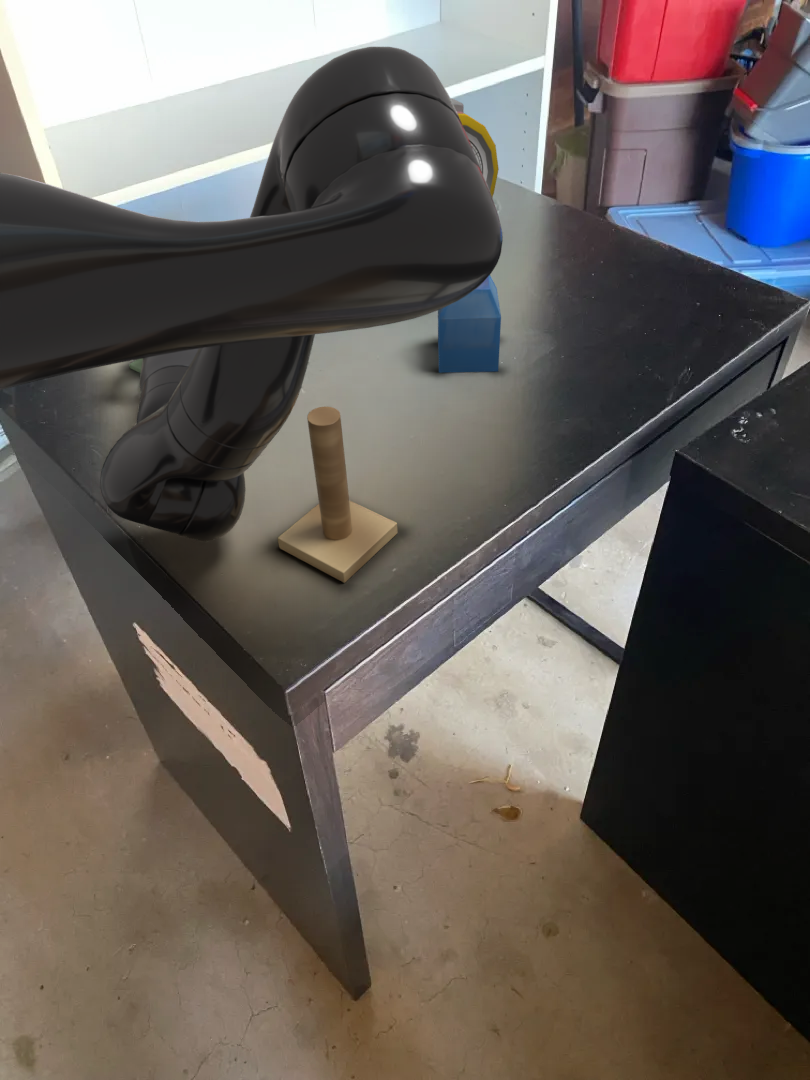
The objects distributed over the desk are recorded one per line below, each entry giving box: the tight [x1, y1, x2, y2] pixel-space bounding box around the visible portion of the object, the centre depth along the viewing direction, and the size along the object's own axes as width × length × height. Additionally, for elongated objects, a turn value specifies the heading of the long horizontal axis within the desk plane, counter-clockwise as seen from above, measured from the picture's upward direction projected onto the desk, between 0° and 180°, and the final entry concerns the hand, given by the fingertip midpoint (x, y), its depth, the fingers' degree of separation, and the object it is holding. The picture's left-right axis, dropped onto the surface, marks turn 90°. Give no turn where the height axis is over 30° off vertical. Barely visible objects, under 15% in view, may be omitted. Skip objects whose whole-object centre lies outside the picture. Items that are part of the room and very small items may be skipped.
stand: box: [277, 406, 398, 584], centre depth 64 cm, size 7×7×12 cm
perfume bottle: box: [437, 274, 502, 374], centre depth 84 cm, size 6×6×12 cm
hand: (191, 289), depth 87 cm, fingers closed on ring, 6 cm apart
